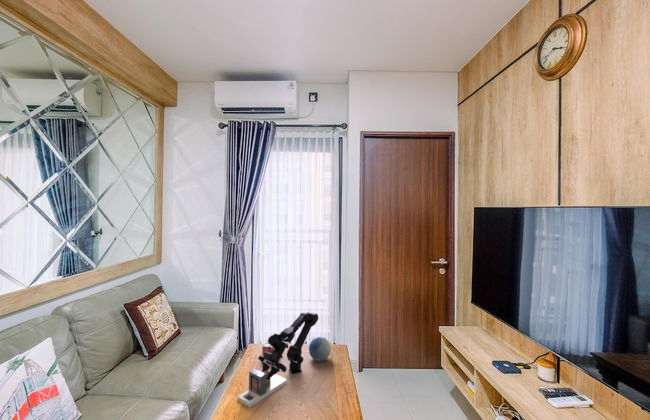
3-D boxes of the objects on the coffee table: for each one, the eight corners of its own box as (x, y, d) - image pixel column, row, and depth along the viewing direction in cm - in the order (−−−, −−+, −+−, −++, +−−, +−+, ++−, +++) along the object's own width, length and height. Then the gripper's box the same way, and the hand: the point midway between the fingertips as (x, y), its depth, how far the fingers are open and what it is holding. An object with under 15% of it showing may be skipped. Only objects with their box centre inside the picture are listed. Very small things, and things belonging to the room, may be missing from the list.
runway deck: (275, 377, 192) (275, 373, 192) (287, 382, 186) (287, 379, 186) (237, 400, 170) (237, 396, 170) (249, 407, 164) (249, 403, 164)
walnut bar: (265, 383, 182) (265, 369, 182) (270, 386, 180) (270, 372, 179) (252, 391, 174) (252, 377, 174) (257, 394, 172) (257, 380, 171)
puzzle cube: (276, 362, 209) (276, 348, 209) (262, 361, 212) (262, 346, 211) (281, 355, 219) (281, 341, 219) (267, 354, 221) (267, 340, 221)
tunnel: (254, 386, 179) (254, 368, 179) (266, 392, 173) (266, 374, 173) (248, 390, 176) (249, 371, 175) (260, 396, 170) (260, 377, 170)
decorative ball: (317, 352, 224) (317, 331, 224) (335, 358, 216) (335, 337, 215) (304, 361, 212) (304, 339, 212) (322, 368, 203) (322, 345, 203)
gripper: (260, 341, 188) (245, 367, 179) (283, 350, 177) (268, 378, 168) (270, 349, 194) (256, 374, 186) (292, 358, 183) (278, 386, 175)
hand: (264, 378), depth 178 cm, fingers closed on walnut bar, 4 cm apart
